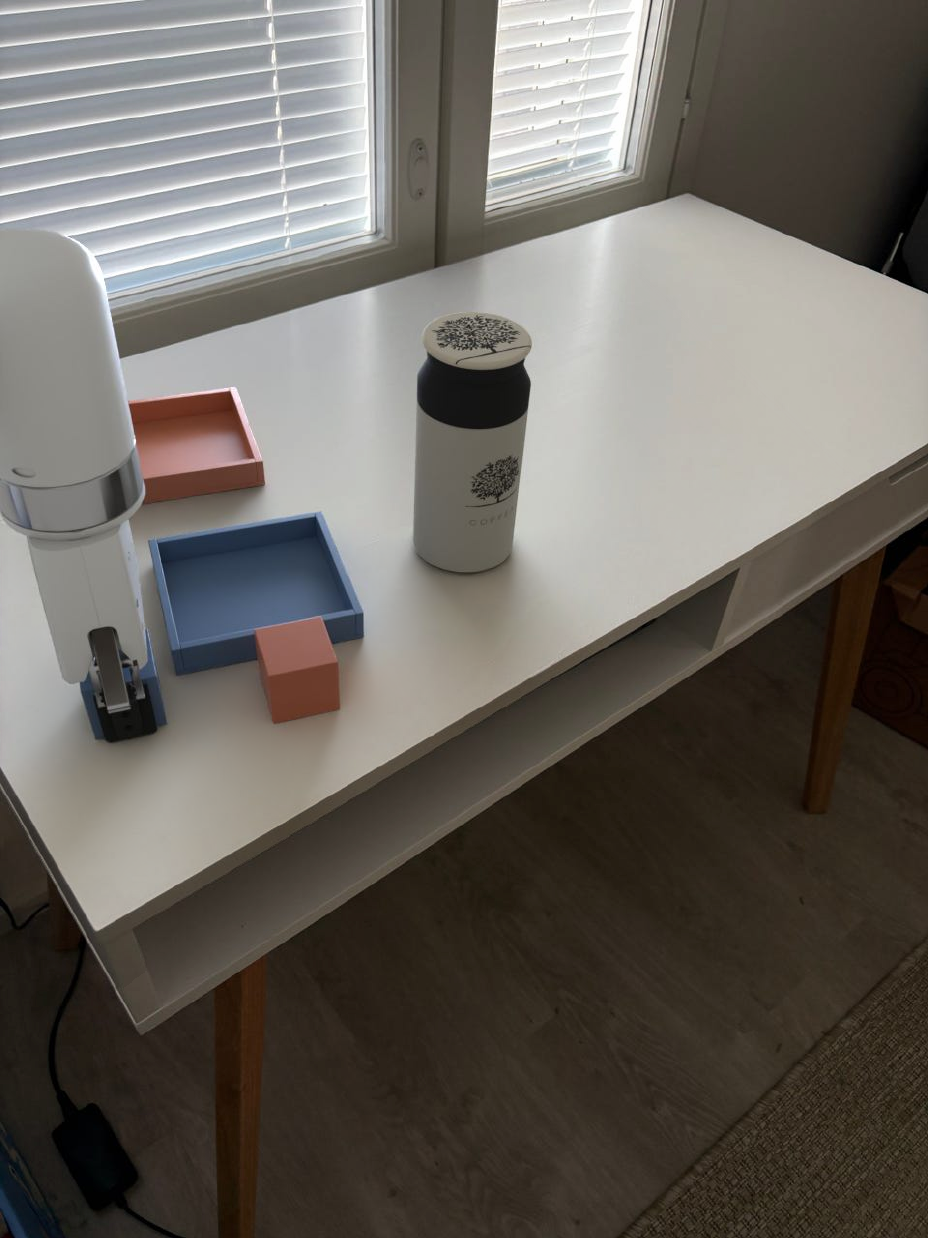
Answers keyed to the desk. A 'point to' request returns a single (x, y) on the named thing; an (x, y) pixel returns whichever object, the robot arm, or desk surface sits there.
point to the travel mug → (469, 439)
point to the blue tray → (250, 587)
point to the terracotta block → (297, 669)
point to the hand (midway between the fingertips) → (126, 703)
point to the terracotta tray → (195, 444)
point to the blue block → (147, 676)
